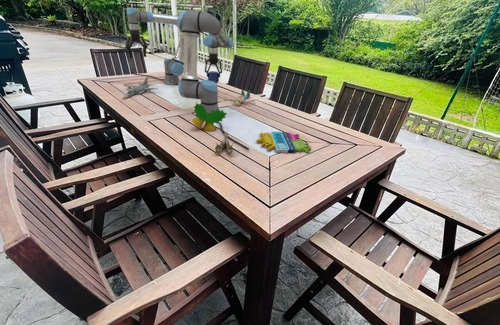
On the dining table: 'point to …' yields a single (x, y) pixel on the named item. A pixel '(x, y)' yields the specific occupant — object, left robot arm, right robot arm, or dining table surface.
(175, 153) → the dining table surface
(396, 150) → the dining table surface
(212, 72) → the cylinder
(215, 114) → the ornament
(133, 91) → the airplane
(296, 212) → the dining table surface
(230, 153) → the jawbone
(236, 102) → the toy
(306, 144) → the packaged colorful gloves
